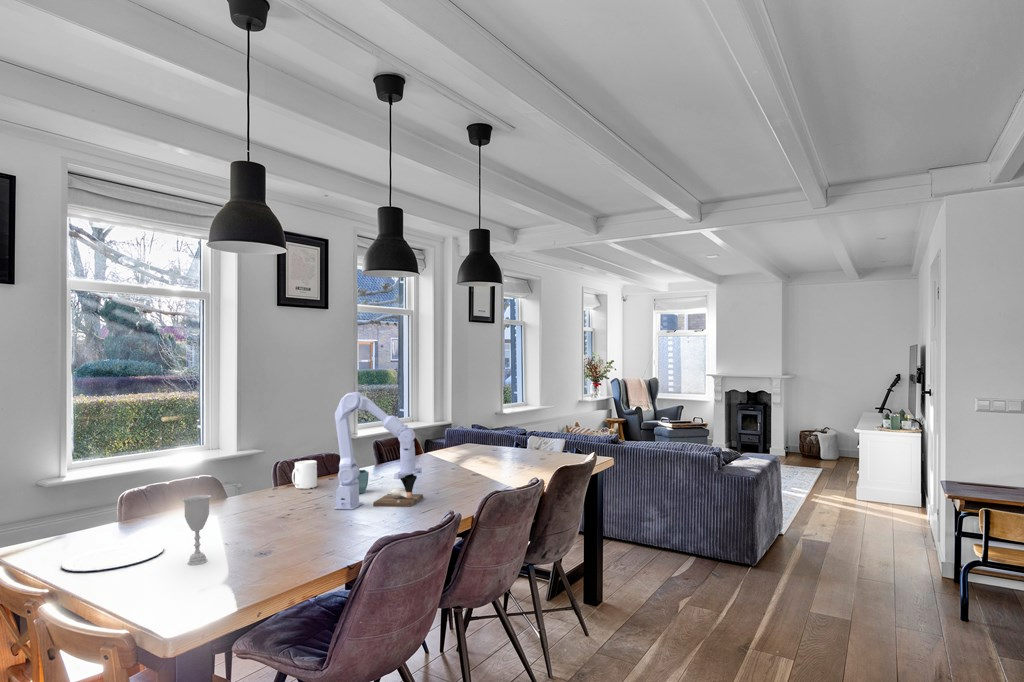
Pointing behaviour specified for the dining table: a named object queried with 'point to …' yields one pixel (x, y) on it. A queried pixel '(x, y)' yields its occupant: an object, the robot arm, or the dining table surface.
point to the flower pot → (363, 480)
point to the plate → (154, 547)
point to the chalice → (197, 522)
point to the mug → (305, 474)
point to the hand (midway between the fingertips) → (409, 494)
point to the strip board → (398, 500)
